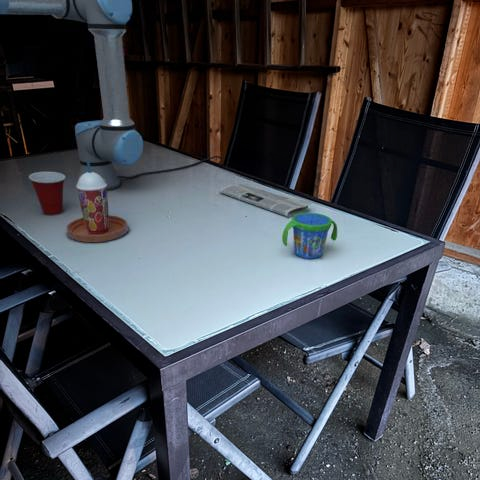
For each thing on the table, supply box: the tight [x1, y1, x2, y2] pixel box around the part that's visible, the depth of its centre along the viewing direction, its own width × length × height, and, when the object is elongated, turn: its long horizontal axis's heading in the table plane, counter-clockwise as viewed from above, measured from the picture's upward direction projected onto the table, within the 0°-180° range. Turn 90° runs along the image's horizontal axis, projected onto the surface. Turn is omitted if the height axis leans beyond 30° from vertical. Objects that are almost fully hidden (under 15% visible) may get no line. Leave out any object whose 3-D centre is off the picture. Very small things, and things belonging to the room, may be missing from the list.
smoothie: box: [75, 162, 110, 234], centre depth 136 cm, size 8×8×20 cm
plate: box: [66, 214, 129, 243], centre depth 141 cm, size 17×17×2 cm
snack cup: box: [281, 212, 338, 260], centre depth 128 cm, size 16×10×10 cm
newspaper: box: [219, 183, 313, 218], centre depth 168 cm, size 35×12×4 cm, turn 43°
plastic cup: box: [28, 171, 66, 216], centre depth 152 cm, size 11×11×12 cm
